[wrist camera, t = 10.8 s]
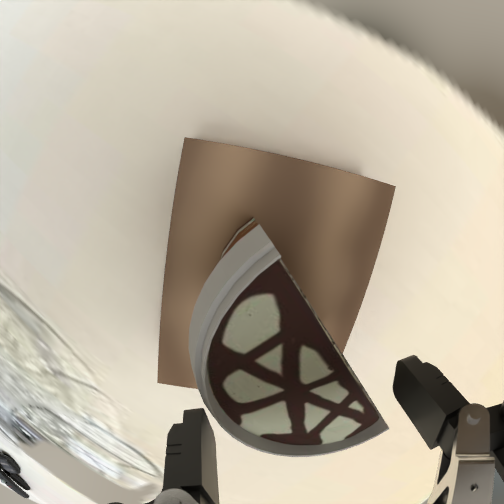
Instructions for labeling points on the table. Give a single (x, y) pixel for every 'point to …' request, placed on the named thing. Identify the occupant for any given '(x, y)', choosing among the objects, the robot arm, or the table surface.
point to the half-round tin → (273, 358)
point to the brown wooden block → (276, 228)
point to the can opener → (12, 475)
